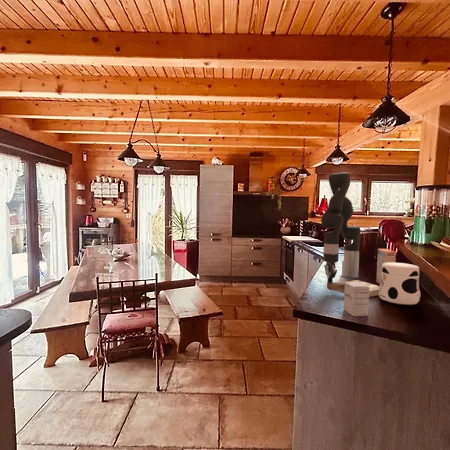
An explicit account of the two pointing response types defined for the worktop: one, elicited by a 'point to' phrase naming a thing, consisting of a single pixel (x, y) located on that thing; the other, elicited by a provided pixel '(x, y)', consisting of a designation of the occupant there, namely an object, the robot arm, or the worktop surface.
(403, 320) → the worktop surface
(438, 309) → the worktop surface
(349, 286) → the supplement box
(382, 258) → the cracker box
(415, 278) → the milk container
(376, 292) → the seat panel
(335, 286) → the walnut leg
